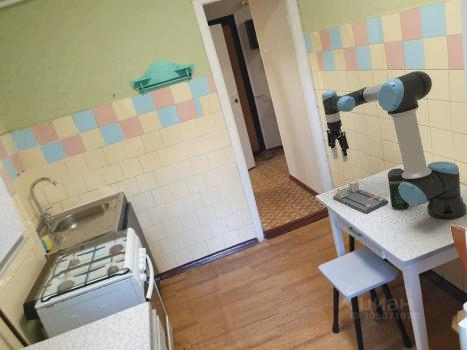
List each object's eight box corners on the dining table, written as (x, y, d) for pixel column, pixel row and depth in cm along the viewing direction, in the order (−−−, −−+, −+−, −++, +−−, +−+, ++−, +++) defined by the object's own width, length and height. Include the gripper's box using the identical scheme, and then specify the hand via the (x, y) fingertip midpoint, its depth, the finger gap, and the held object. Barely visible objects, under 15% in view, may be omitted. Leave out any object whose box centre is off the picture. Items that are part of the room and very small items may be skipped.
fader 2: (359, 189, 205) (358, 181, 203) (353, 192, 204) (352, 184, 202) (356, 188, 208) (354, 180, 206) (350, 191, 207) (348, 183, 205)
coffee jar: (409, 209, 178) (405, 174, 172) (391, 210, 181) (386, 175, 175) (408, 200, 186) (404, 166, 180) (391, 201, 189) (387, 167, 183)
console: (388, 203, 189) (387, 197, 187) (366, 214, 185) (365, 208, 184) (353, 190, 212) (352, 185, 211) (333, 199, 208) (332, 194, 207)
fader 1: (347, 195, 203) (346, 187, 201) (341, 198, 202) (340, 189, 200) (344, 193, 206) (342, 185, 204) (338, 196, 204) (336, 188, 203)
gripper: (351, 119, 192) (358, 160, 199) (327, 116, 210) (334, 154, 218) (339, 124, 190) (347, 165, 197) (316, 120, 208) (324, 158, 216)
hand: (340, 159), depth 208 cm, fingers open, 8 cm apart
